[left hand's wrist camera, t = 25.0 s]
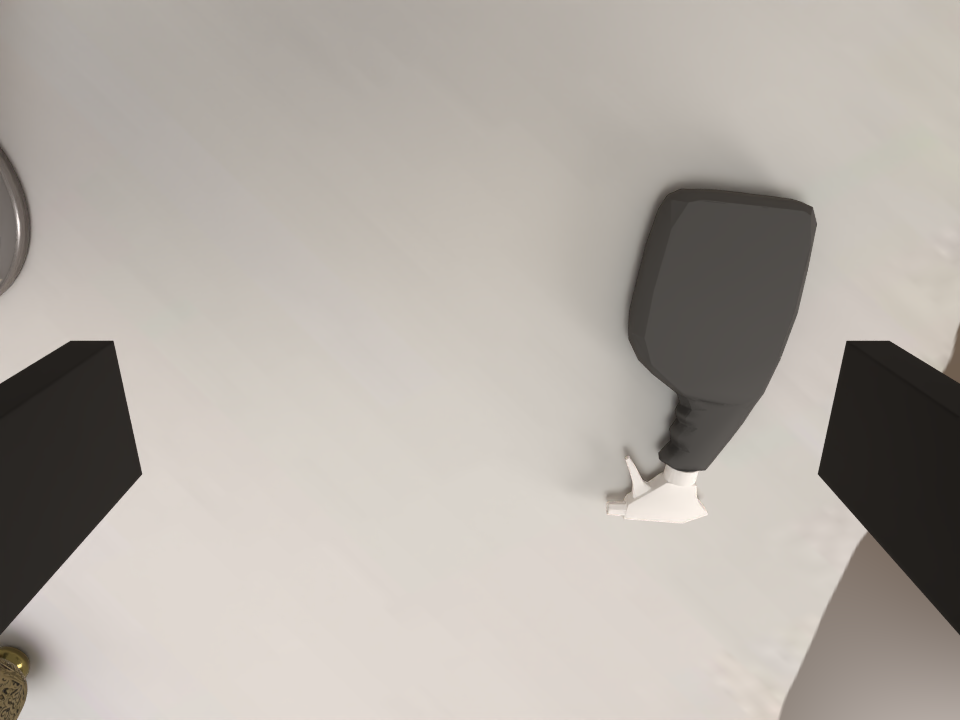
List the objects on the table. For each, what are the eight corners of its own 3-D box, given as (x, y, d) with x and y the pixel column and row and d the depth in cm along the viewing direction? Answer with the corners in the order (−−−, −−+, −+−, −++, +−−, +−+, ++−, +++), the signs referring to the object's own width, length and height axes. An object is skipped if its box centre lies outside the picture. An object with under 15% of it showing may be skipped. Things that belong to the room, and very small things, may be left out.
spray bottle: (817, 200, 43) (721, 514, 53) (651, 180, 43) (584, 501, 52) (839, 208, 41) (734, 538, 50) (663, 187, 40) (590, 524, 50)
